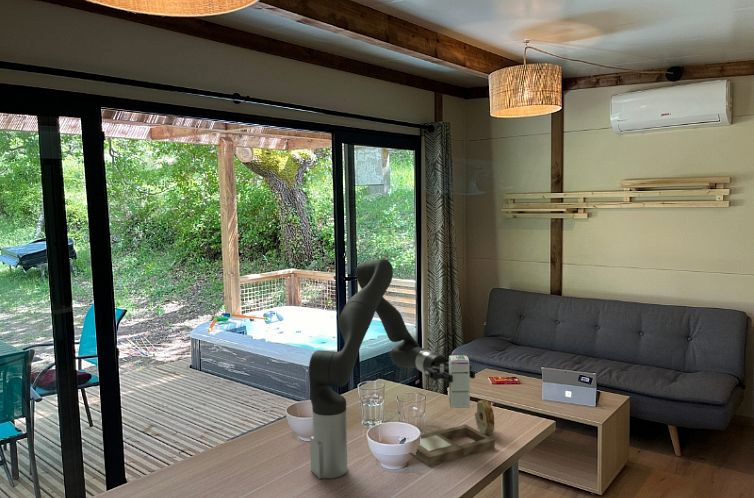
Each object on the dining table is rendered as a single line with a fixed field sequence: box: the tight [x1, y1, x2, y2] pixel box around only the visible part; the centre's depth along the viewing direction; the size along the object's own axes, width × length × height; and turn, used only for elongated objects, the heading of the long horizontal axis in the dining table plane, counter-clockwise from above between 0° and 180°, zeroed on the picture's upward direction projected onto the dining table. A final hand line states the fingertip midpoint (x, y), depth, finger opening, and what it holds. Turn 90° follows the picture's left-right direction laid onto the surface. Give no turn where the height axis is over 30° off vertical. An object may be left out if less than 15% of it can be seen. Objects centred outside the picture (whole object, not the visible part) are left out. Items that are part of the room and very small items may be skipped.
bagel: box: [474, 399, 495, 435], centre depth 181 cm, size 10×4×10 cm, turn 9°
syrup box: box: [448, 354, 471, 409], centre depth 169 cm, size 6×6×14 cm
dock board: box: [414, 424, 496, 467], centre depth 169 cm, size 24×14×3 cm, turn 119°
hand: (463, 377), depth 168 cm, fingers closed on syrup box, 7 cm apart
